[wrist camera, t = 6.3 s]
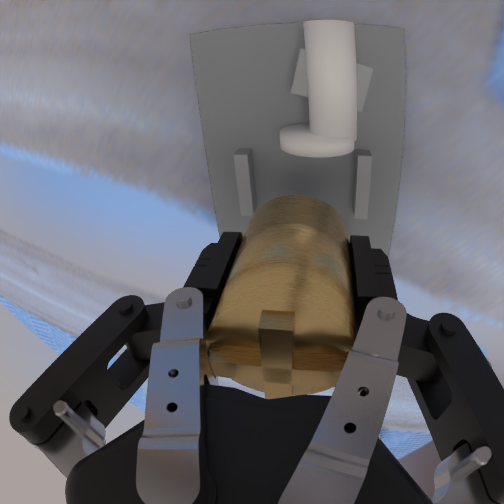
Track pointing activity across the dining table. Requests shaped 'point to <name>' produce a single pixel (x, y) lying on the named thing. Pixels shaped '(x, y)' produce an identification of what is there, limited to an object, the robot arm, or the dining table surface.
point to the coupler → (287, 301)
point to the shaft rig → (304, 119)
